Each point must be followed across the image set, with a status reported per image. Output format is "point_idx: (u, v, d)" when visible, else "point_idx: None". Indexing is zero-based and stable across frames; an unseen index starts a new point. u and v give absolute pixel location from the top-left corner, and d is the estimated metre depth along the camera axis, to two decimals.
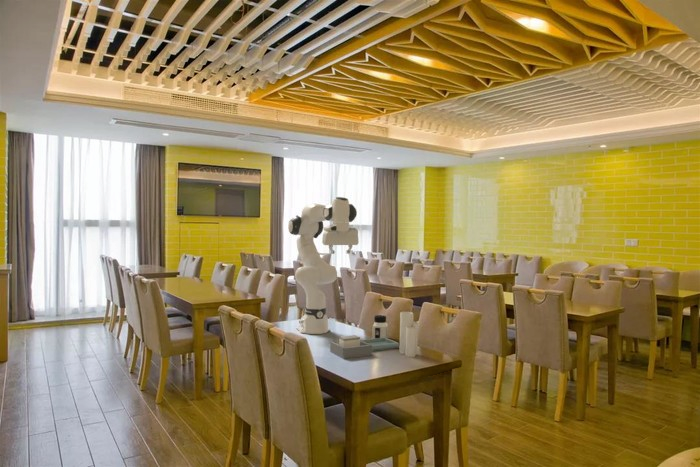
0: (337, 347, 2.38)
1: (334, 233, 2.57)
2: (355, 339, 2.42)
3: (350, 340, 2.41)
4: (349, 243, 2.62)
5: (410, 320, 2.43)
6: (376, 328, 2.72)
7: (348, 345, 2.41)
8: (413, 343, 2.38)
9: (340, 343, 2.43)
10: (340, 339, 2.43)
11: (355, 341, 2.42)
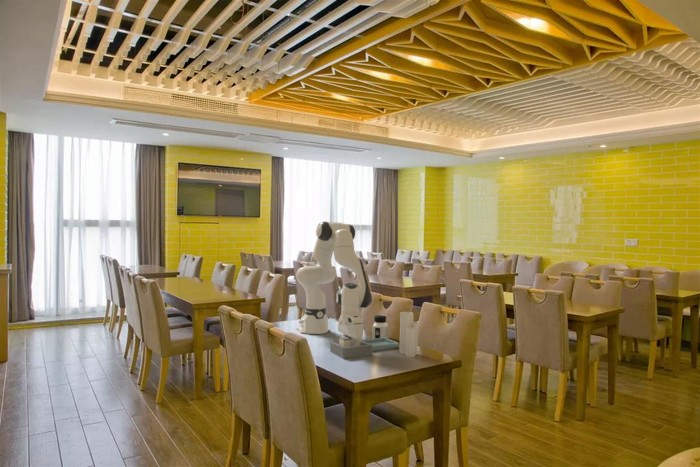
0: (337, 347, 2.38)
1: None
2: None
3: (350, 340, 2.41)
4: None
5: (410, 320, 2.43)
6: (376, 328, 2.72)
7: (348, 345, 2.41)
8: (413, 343, 2.38)
9: (340, 343, 2.43)
10: (340, 339, 2.43)
11: None
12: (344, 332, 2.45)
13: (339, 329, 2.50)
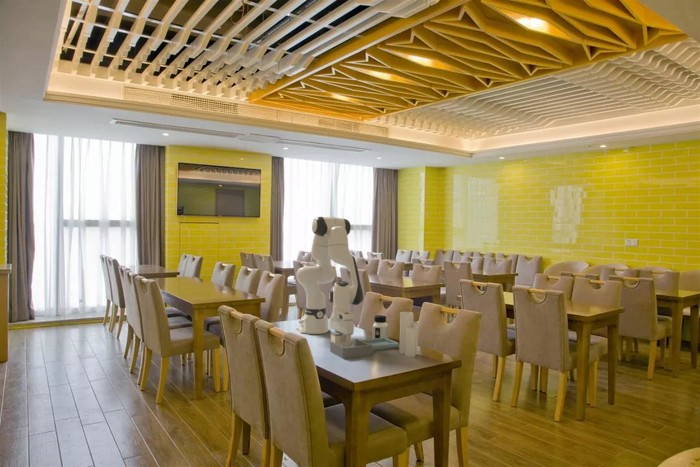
0: (337, 347, 2.38)
1: None
2: None
3: (341, 336, 2.49)
4: None
5: (410, 320, 2.43)
6: (376, 328, 2.72)
7: (339, 340, 2.49)
8: (413, 343, 2.38)
9: (332, 338, 2.51)
10: (332, 334, 2.51)
11: None
12: (335, 328, 2.53)
13: (331, 325, 2.58)
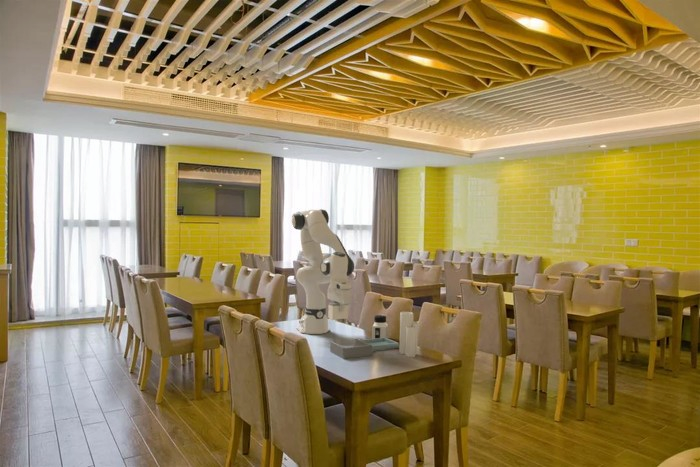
0: (337, 347, 2.38)
1: None
2: None
3: (339, 306, 2.52)
4: None
5: (410, 320, 2.43)
6: (376, 328, 2.72)
7: (337, 310, 2.52)
8: (413, 343, 2.38)
9: (329, 308, 2.54)
10: (329, 305, 2.54)
11: None
12: (333, 299, 2.56)
13: (328, 296, 2.61)
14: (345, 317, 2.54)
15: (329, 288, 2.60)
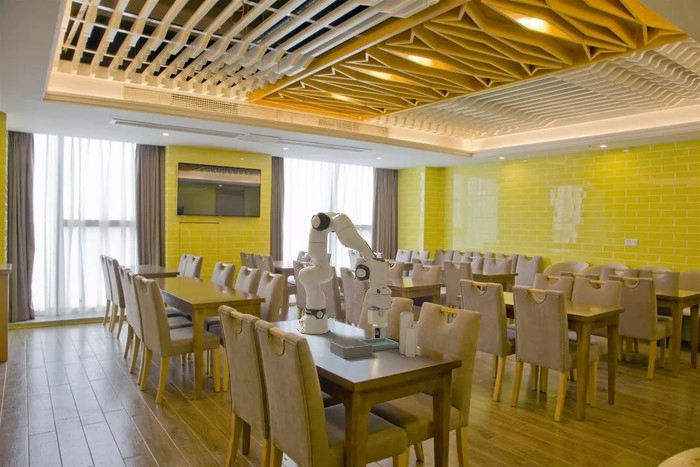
0: (337, 347, 2.38)
1: None
2: None
3: (378, 310, 2.54)
4: None
5: (410, 320, 2.43)
6: (376, 328, 2.72)
7: (376, 315, 2.54)
8: (413, 343, 2.38)
9: (369, 313, 2.56)
10: (369, 310, 2.56)
11: None
12: (372, 304, 2.58)
13: (367, 301, 2.63)
14: (384, 322, 2.56)
15: (368, 293, 2.62)
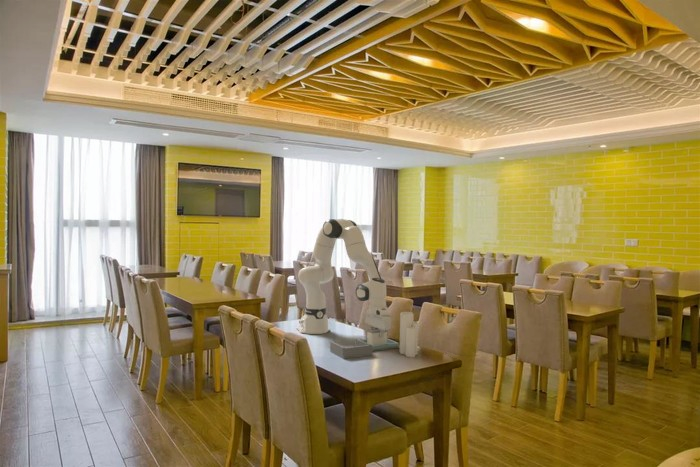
0: (337, 347, 2.38)
1: None
2: None
3: (378, 333, 2.55)
4: None
5: (410, 320, 2.43)
6: (376, 328, 2.72)
7: (376, 337, 2.54)
8: (413, 343, 2.38)
9: (368, 335, 2.56)
10: (368, 332, 2.56)
11: None
12: (372, 324, 2.58)
13: (366, 321, 2.63)
14: None
15: (367, 313, 2.62)
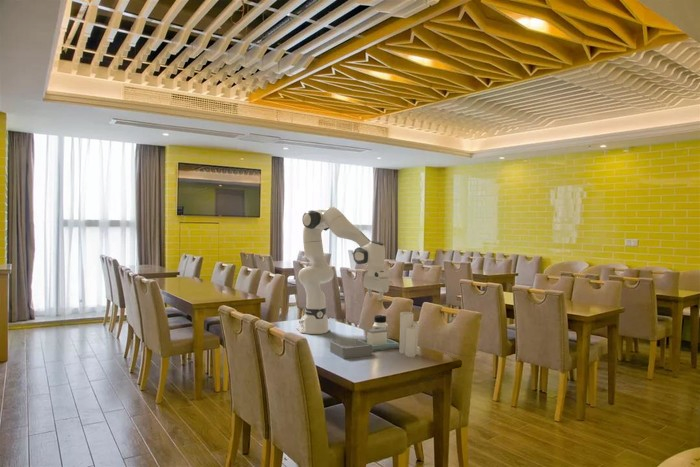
0: (337, 347, 2.38)
1: None
2: (382, 332, 2.56)
3: (378, 333, 2.55)
4: None
5: (410, 320, 2.43)
6: (376, 328, 2.72)
7: (376, 337, 2.54)
8: (413, 343, 2.38)
9: (368, 335, 2.56)
10: (368, 332, 2.56)
11: (382, 334, 2.56)
12: (370, 287, 2.58)
13: (365, 285, 2.63)
14: None
15: (365, 277, 2.63)
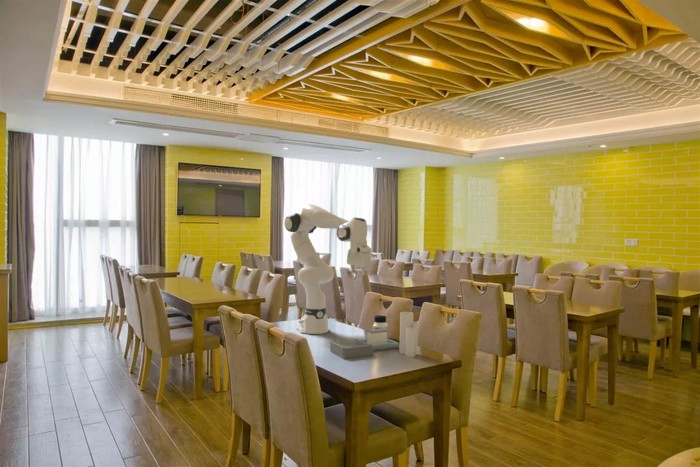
0: (337, 347, 2.38)
1: None
2: (382, 332, 2.56)
3: (378, 333, 2.55)
4: None
5: (410, 320, 2.43)
6: (376, 328, 2.72)
7: (376, 337, 2.54)
8: (413, 343, 2.38)
9: (368, 335, 2.56)
10: (368, 332, 2.56)
11: (382, 334, 2.56)
12: (353, 263, 2.62)
13: (348, 261, 2.67)
14: None
15: (349, 253, 2.66)
